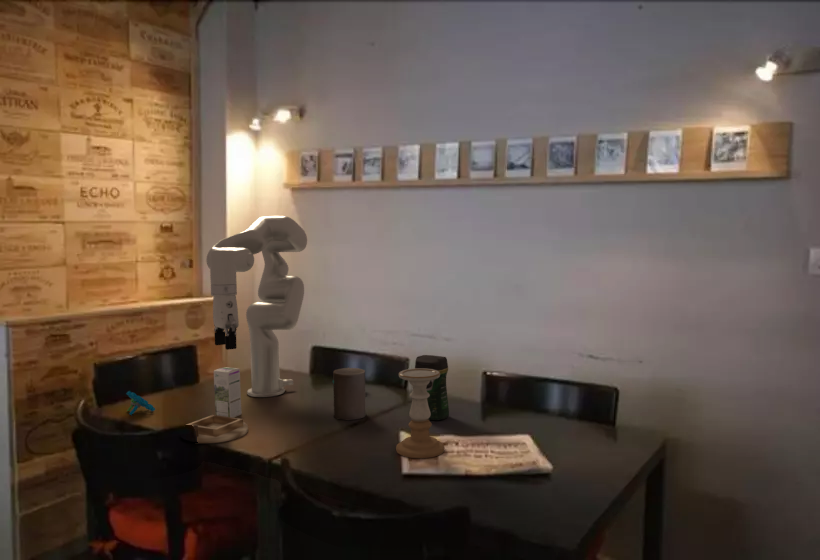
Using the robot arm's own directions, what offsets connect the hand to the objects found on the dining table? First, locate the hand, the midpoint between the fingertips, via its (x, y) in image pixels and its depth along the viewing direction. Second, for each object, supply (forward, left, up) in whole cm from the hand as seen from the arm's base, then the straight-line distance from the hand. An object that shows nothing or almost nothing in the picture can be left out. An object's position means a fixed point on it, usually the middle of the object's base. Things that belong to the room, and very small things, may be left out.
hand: (225, 346), depth 208 cm
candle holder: (-29, +61, -22) cm, 71 cm away
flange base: (+9, +15, -21) cm, 27 cm away
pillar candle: (-30, +22, -22) cm, 43 cm away
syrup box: (0, 0, -22) cm, 22 cm away
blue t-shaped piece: (+21, -20, -22) cm, 36 cm away
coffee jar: (-49, +38, -22) cm, 66 cm away
